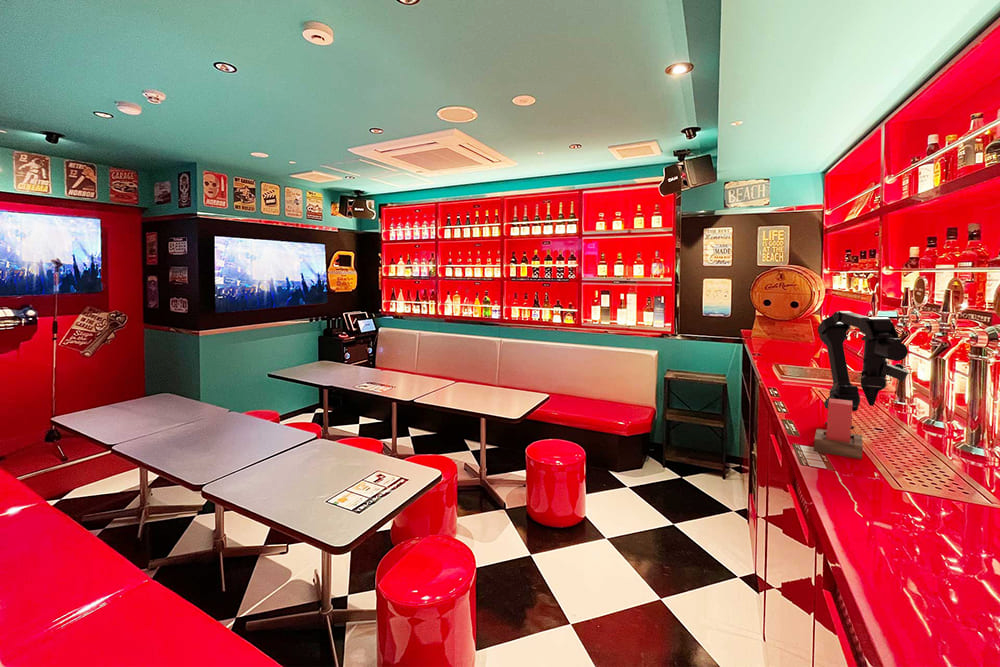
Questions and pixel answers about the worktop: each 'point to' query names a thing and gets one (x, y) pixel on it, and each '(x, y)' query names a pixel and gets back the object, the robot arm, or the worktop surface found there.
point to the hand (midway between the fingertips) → (871, 402)
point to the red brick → (839, 420)
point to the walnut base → (838, 445)
